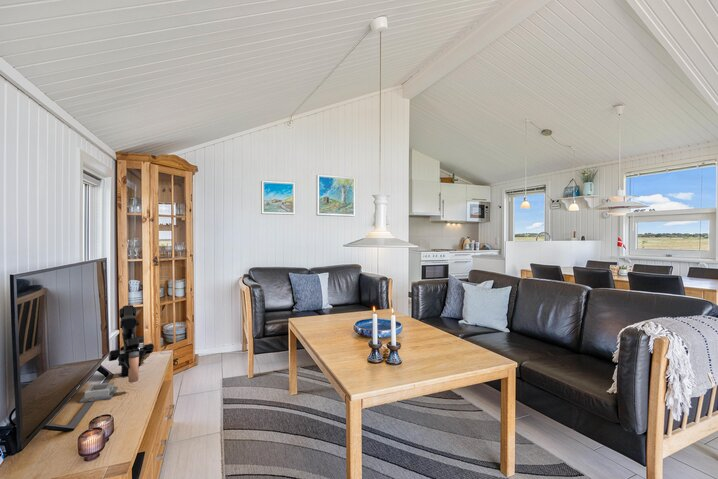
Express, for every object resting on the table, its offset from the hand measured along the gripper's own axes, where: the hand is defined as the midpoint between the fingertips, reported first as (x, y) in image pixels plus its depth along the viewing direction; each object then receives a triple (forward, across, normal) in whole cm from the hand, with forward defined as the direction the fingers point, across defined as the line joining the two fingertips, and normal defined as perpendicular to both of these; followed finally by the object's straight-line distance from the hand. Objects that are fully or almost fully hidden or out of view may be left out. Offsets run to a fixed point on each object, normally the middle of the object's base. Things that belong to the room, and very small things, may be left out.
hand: (134, 367), depth 172 cm
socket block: (+4, -13, +14) cm, 19 cm away
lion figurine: (-20, +10, +38) cm, 45 cm away
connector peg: (+4, 0, +6) cm, 7 cm away
